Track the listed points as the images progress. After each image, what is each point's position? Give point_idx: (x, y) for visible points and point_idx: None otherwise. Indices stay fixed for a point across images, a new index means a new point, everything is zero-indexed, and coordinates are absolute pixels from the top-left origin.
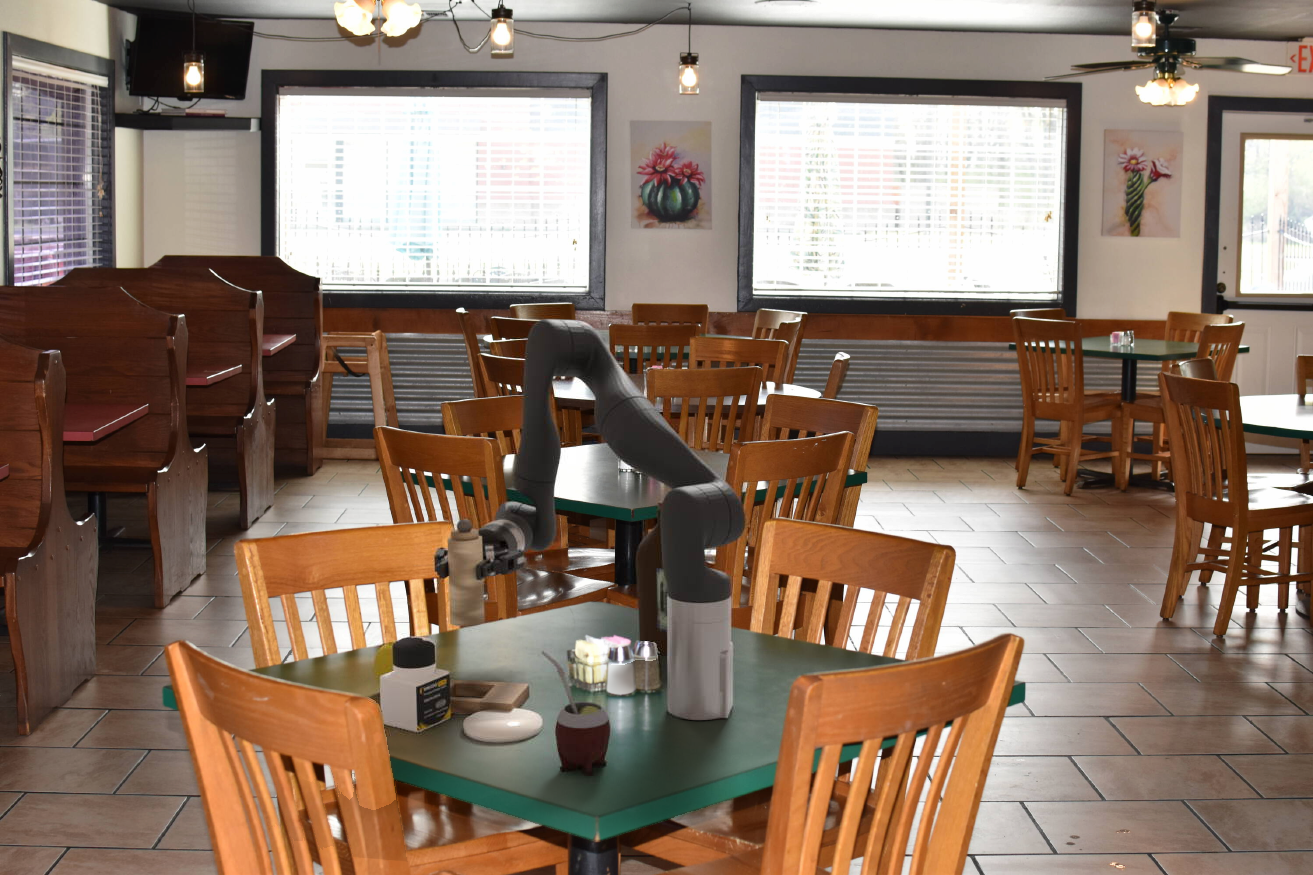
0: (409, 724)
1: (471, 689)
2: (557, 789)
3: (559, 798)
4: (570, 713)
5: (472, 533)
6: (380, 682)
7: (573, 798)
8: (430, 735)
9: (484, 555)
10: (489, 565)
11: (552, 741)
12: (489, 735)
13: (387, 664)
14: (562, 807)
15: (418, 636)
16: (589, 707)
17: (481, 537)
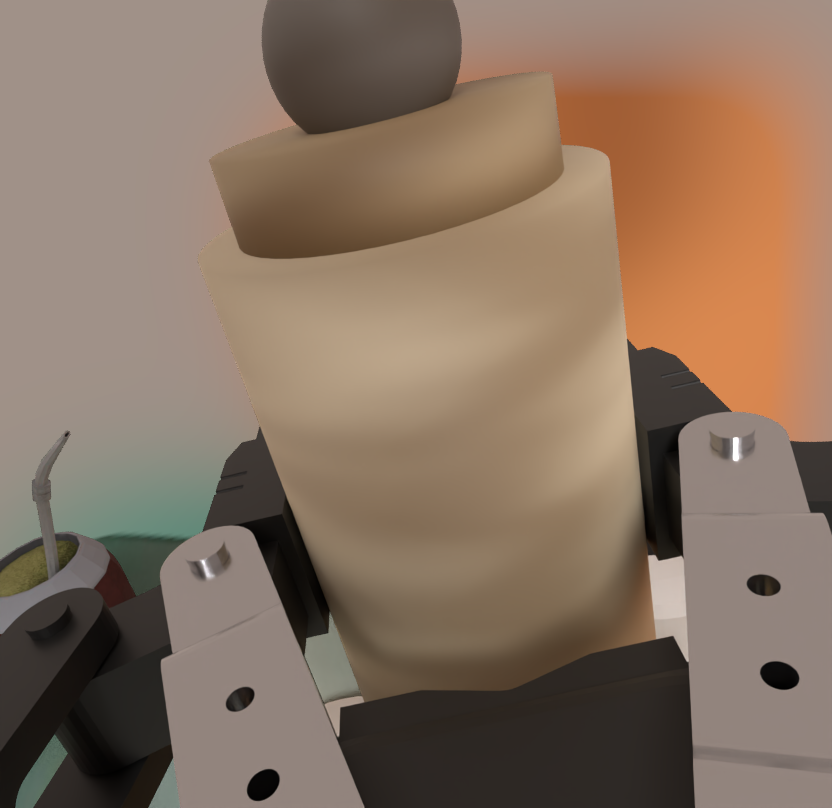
0: None
1: None
2: (159, 577)
3: (156, 555)
4: (68, 533)
5: (259, 138)
6: None
7: (131, 563)
8: None
9: (349, 712)
10: (216, 496)
11: (172, 786)
12: (346, 699)
13: None
14: (151, 536)
15: (676, 576)
16: (13, 585)
17: (206, 261)
